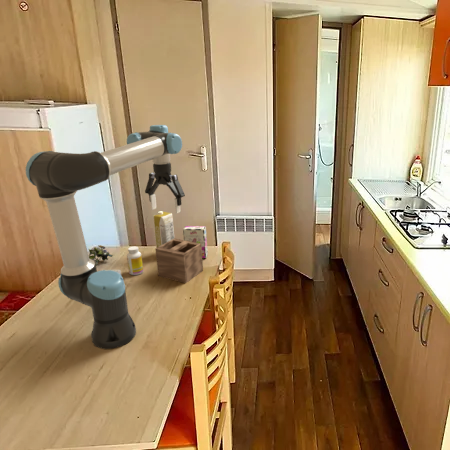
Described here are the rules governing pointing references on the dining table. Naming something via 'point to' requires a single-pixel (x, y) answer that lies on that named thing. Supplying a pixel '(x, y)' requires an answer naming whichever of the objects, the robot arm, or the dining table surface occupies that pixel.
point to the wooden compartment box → (179, 260)
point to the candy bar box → (197, 237)
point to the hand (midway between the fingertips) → (165, 210)
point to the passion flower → (99, 254)
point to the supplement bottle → (134, 261)
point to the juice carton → (163, 228)
